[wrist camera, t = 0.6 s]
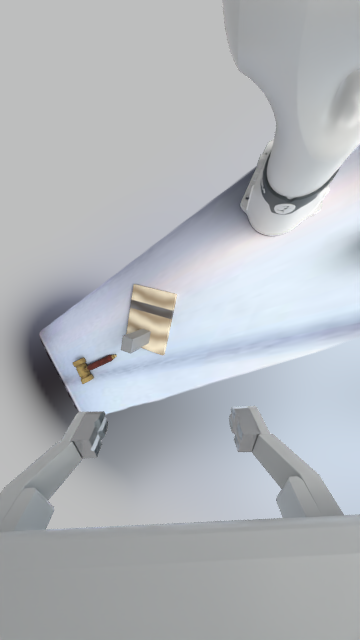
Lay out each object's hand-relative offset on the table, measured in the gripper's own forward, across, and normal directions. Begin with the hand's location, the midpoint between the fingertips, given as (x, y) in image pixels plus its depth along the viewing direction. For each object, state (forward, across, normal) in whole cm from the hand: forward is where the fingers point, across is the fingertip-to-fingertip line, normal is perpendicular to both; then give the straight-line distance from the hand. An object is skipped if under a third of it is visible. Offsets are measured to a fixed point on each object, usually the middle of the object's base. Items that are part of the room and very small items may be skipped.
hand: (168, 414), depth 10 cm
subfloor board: (+45, +9, +14) cm, 48 cm away
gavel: (+47, +33, +36) cm, 67 cm away
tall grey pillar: (+42, +11, +20) cm, 48 cm away
